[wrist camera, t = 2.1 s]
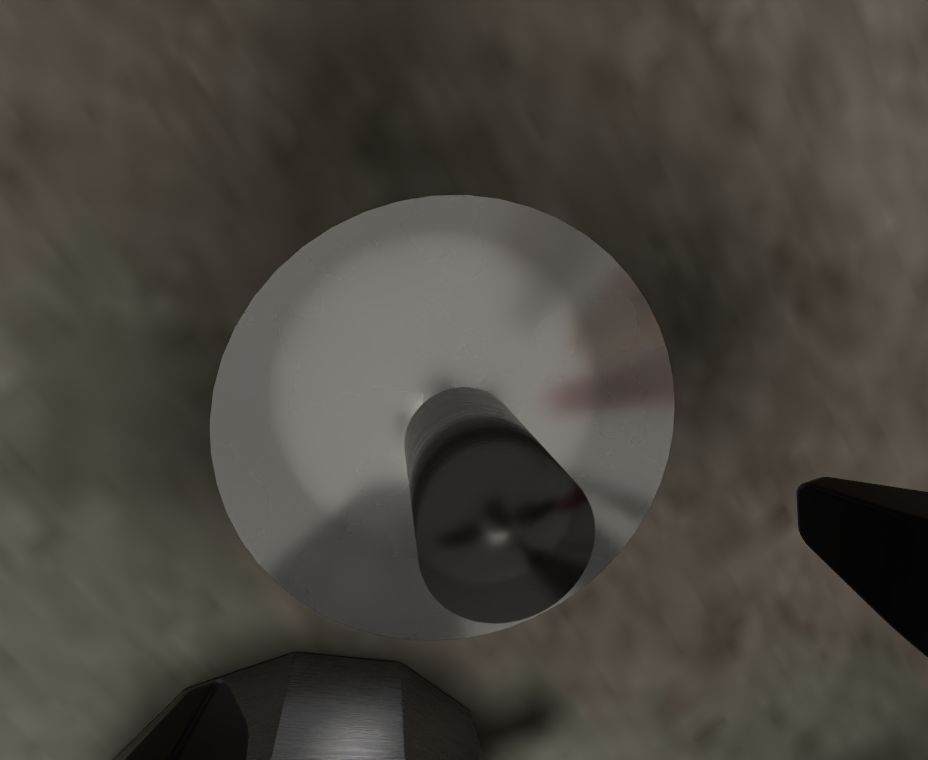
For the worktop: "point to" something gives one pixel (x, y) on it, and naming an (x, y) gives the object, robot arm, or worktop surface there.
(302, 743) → the pot
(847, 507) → the robot arm
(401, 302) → the lid
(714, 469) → the worktop surface
